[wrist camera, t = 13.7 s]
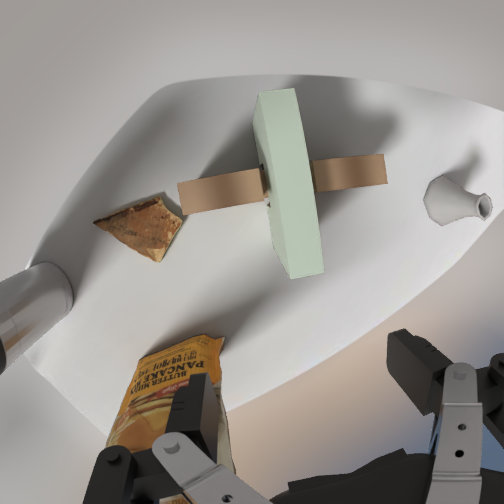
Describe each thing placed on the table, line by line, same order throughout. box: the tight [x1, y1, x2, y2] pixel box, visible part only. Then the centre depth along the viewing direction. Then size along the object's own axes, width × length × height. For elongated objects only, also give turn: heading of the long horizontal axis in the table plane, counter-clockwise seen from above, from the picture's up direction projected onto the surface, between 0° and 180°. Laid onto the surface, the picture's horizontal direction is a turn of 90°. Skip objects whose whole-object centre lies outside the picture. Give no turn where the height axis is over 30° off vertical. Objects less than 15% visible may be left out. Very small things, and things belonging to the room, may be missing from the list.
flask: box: [423, 176, 493, 226], centre depth 33 cm, size 7×7×10 cm
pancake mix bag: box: [105, 334, 236, 504], centre depth 28 cm, size 7×19×28 cm, turn 116°
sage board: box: [252, 88, 324, 279], centre depth 30 cm, size 16×3×13 cm, turn 10°
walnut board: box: [177, 154, 388, 215], centre depth 31 cm, size 20×3×10 cm, turn 99°
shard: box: [93, 196, 183, 263], centre depth 36 cm, size 11×8×2 cm
